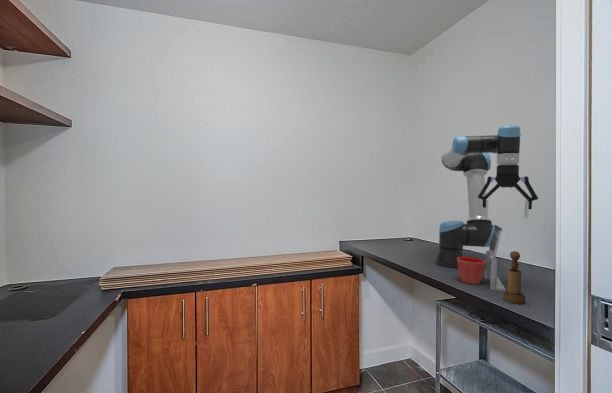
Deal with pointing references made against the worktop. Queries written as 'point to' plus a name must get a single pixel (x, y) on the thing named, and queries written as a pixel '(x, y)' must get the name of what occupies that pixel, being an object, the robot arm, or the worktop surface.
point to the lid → (494, 241)
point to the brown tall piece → (514, 282)
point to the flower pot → (470, 269)
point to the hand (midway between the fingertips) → (505, 216)
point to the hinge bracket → (493, 274)
